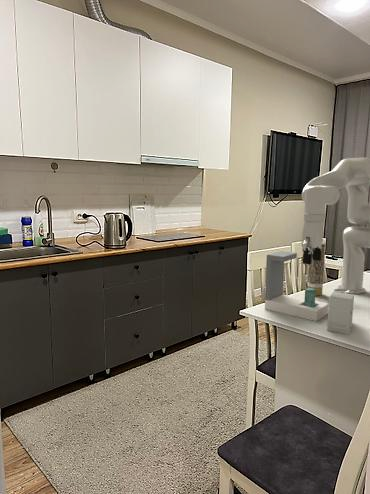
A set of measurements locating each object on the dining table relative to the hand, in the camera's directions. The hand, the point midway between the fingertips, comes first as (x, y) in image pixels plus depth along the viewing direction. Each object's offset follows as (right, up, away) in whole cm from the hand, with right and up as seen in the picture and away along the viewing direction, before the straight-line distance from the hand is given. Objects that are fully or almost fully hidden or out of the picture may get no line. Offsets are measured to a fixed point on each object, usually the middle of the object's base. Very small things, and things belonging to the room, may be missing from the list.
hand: (311, 262), depth 146 cm
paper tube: (+12, -17, +31) cm, 37 cm away
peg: (0, -21, +3) cm, 21 cm away
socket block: (-4, -20, +7) cm, 22 cm away
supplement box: (+5, -24, -13) cm, 28 cm away
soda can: (+9, -23, -5) cm, 25 cm away
